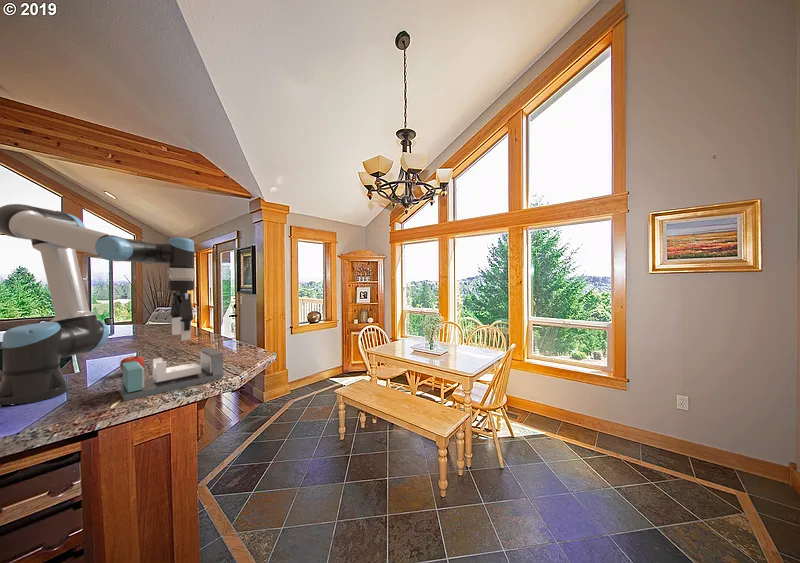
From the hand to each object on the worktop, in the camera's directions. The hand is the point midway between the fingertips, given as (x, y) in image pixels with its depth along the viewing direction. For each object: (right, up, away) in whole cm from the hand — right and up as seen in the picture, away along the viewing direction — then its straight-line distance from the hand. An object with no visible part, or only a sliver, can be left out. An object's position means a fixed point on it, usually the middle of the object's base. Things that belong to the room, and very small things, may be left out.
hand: (181, 337), depth 109 cm
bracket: (-1, -15, -1) cm, 15 cm away
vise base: (-1, -17, -2) cm, 17 cm away
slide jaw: (-9, -15, -10) cm, 20 cm away
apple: (-27, -17, +10) cm, 33 cm away
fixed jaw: (+6, -15, +7) cm, 18 cm away
